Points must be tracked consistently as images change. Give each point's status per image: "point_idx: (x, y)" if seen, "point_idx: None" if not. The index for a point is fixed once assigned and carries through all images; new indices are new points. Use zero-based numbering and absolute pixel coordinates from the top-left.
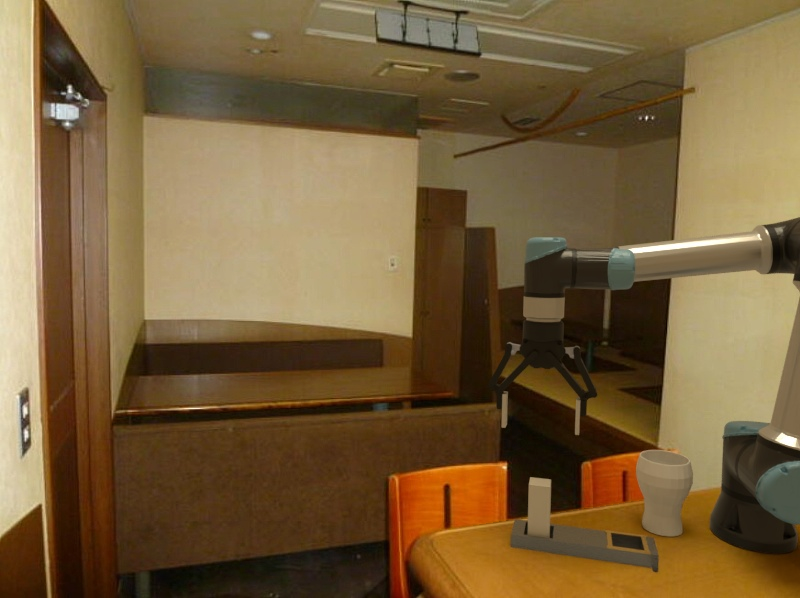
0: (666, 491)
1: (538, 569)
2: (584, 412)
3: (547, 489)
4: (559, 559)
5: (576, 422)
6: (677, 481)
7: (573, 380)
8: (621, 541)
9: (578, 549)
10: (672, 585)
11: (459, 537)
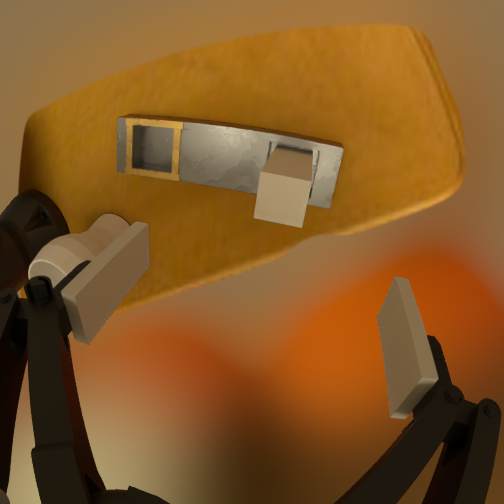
0: (73, 237)
1: (300, 86)
2: (80, 269)
3: (267, 171)
4: (263, 121)
5: (122, 243)
6: (51, 242)
7: (31, 372)
8: (161, 168)
9: (229, 125)
10: (120, 85)
11: (419, 181)
